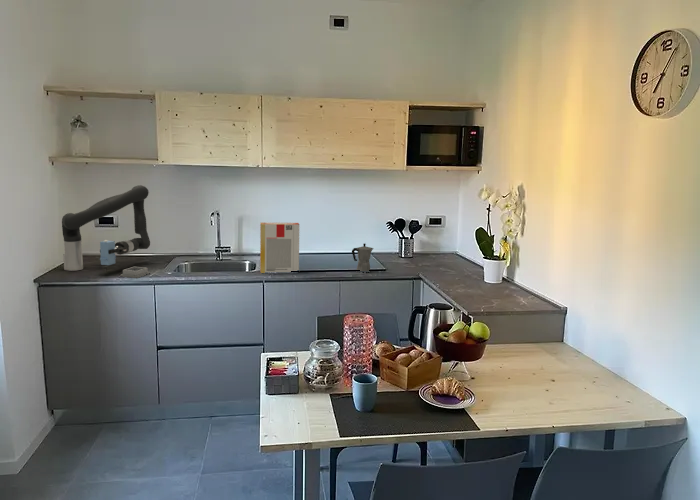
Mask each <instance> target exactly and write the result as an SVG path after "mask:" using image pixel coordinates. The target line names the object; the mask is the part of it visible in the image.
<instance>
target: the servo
mask: <svg viewBox="0 0 700 500" xmlns="http://www.w3.org/2000/svg"><path fill="white" fill-rule="evenodd" d="M115 244H116V242H115V240H114V241H113V240H108V239H104V240H103V241H100V242H99V248H100V249H99V254H100V258H99V260H100V265H102V266H111V265H115V264H116V258H117V256H116V253H112V254H108V250H111V249H115Z"/></svg>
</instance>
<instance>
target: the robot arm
mask: <svg viewBox="0 0 700 500" xmlns="http://www.w3.org/2000/svg"><path fill="white" fill-rule="evenodd" d="M149 193H150V192H149V189H148V188H147V187H146V186H145V185H141V184H140V185H135V186H133V187H132V188H131V189H130V190H127V191H126V192H123V193H120V194H116V195H113V196H110V197H106V198H104V199H102V200H100V201H98V202H96V203H94V204H92V205H90V206H89V208H86V209H85V210H82V211H79V212H76V213H72V212H68V213H66V214H64V215H63V216H62V217H61V218H62V219H61V229H62V236H63V248H64V253H63V269H64V271H70V272H71V271H72V272H73V271H80V270H83V269H84V264H83V263H84V262H83V244H82V234H81V228H82V227H83V226H85V225H86V224H88V223H91V222H93V221H95V220H98V219H102V218H104V217H106V216H108V215H111V214H114V213H115V212H117V211H119V210H121V209H123V208H126V207H127V206H128V205H131V204H132V206H133V207H132V208H133V218H134V220H133V221H134V233H135V235H137V234H138V235H139V236H140V237H134V238H132V239H130V240H129V239H128V240H121V241H118V242H115V249H111V250H108V254H112V253H115V254H117V255H118V256H119V255H120V256H121V255H125V254H129V253H130V252H131V253H132V252H135V251H137V250H146V249H148V248H150V245H151V241H150V237H149V233H148V231H147V228H148V226H147V218H146V217H147V216H146V213H145V200H146V199H147V198H148V197H149Z"/></svg>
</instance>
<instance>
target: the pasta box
mask: <svg viewBox="0 0 700 500" xmlns="http://www.w3.org/2000/svg"><path fill="white" fill-rule="evenodd" d="M259 226H260V237H259V238H260V247H259V248H260V250H259V251H260V254H259V255H260V256H259V257H260V261H259V262H260V263H259V265H260V266H259V267H260V268H259V269H260V271H259V272H261V273H265V272H291V271H297V270H299V271H300V223H299V222H260V225H259ZM261 273H260V274H261Z"/></svg>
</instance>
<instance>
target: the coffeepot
mask: <svg viewBox="0 0 700 500" xmlns="http://www.w3.org/2000/svg"><path fill="white" fill-rule="evenodd" d="M366 245H367V244H366V242H365V243H363V245H362V246H359V247H353V248H352V250H351V254H352V257H353V258H352V259H353V260H354V262H357V265H356V270H360V271H369V270H371V265H370V263H371V262H370V259H371V255H372V251H373V250H374V247H370V246H366ZM355 252H357V258H356V254H355Z"/></svg>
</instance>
